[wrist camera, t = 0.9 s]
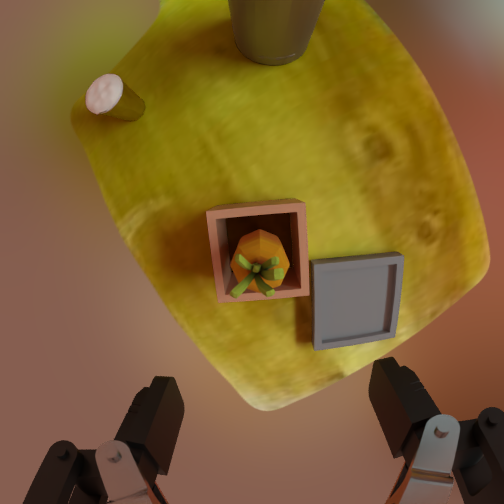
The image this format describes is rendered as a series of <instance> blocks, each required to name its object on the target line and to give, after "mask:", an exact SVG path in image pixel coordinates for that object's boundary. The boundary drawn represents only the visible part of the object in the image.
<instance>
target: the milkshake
mask: <svg viewBox="0 0 504 504" xmlns="http://www.w3.org/2000/svg"><path fill="white" fill-rule="evenodd" d="M86 106H87V108H88V110H90V111H91V112H92V113H95V114H97V115H98V114H101V115H106V116H111V117H115V118H119V119H123V120H127V121H135V120H138V119H139V118H140V117H141V116H143V114H144V111H145V109H146V106H145V102H144V100H143V99H142V98H140V97H139V96H138V95H137V94H136V93H135V92H134V91H133V90H132V89H130V88H129V87H128V86H127V85H126V84H125V83H124V82H123V81H122V80H121V79H120V77H119V76H117V75H115V74H105V75H103V76H101V77H99V78H97V79H96V80H95V81H94V82H93V83H92V84H91V86H90V87H89V89H88V90H87V93H86Z"/></svg>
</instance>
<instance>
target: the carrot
mask: <svg viewBox="0 0 504 504" xmlns="http://www.w3.org/2000/svg"><path fill="white" fill-rule="evenodd" d="M230 266H231V268H232V270H233V272H234V274H235V277H236V279H237V281H238V283H239V284H238V285H237V286H236V287H234V288H233V289H232V291H231V292H230V296H231V297H233V298H235V299H236V298H238V297H239V296H240V295H241V294H242V293H243V292H244V291H245V290H246V288H247V289H250V290H252V291H255V292H258V293H262V294H263V295H265V296H266V297H271V296H273V295H274V294H275V291H274V289H273V288H275V287H278V286H280V285H281V283H282V281H283V279H284V277H285V274H286V272H287V270H288V268H289V266H290V263H289V261H288V258H287V256H286V253H285V251H284V248H283V246H282V244H281V242H280V240H279V238H278V237H277V236H276V235H274V234H271V233H269V232H266V231H264V230H261V229H258V230H256V231H253V232H251V233H249V234H246V235H244V236H242V238H241V239H240V241H239V243H238V246H237V248H236V251H235V253H234V256H233V259H232V261H231V264H230Z"/></svg>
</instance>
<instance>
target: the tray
mask: <svg viewBox="0 0 504 504" xmlns="http://www.w3.org/2000/svg"><path fill="white" fill-rule="evenodd" d="M403 265H404V255H402V254H401V253H399V252H388V253H378V254H368V255H358V256H347V257H337V258H326V259H315V260H311V283H312V345H313V348H314V351H316V350H324V349H331V348H338V347H345V346H351V345H357V344H363V343H368V342H374V341H379V340H384V339H389V338H394V337H395V334H396V328H397V321H398V314H399V307H400V298H401V289H402V278H403Z"/></svg>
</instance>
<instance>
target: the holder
mask: <svg viewBox="0 0 504 504" xmlns="http://www.w3.org/2000/svg"><path fill="white" fill-rule="evenodd" d="M276 213H290V227H291V242H292V259H293V267H292V268H288V270H287V272H286V274H285V277H284V279H283V281H282V283H281V285H280V286H278V287H275V288H273V289H274V291H275V294H274V295H273V296H271V297H266V296H265V295H263V294H262V293H258V292H255V291H252V290H250V289H247V288H246V290H245V291H244V292H243V293H242V294H241V295H240V296H239V297H238V298H236V299H235V298H233V297H231V296H230V292H231V291H232V289H233V288H234V287H236V286H237V285H238V284H239V283H238V281H237V279H236V277H235V274H234V272H232V271H231V266H230V264H231V262H230V254H229V245H228V237H227V228H226V219H225V218H231V217H242V216H253V215H264V214H276ZM206 216H207V224H208V232H209V240H210V248H211V255H212V263H213V270H214V277H215V284H216V291H217V298H218V303H222V302H238V301H252V300H265V299H277V298H288V297H298V296H308V295H309V262H308V240H307V221H306V206H305V202H303V201H300V200H298V199H295V198H294V199H280V200H268V201H256V202H246V203H235V204H225V205H217V206H215V207H213V208H211V209H210V210H208V211H206Z"/></svg>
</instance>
